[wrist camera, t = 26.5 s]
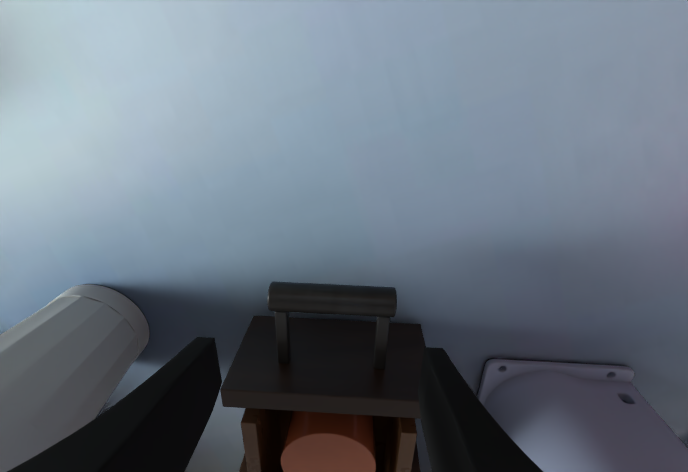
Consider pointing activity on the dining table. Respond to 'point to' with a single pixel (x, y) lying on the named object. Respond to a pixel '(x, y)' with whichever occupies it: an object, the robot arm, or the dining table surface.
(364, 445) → the orange cylinder puck
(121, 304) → the cup
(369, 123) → the dining table surface
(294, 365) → the drawer
